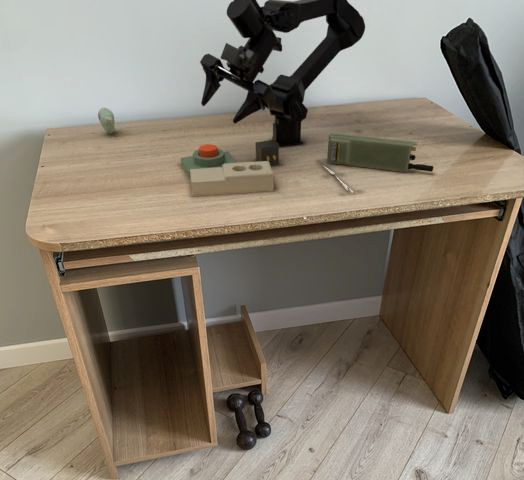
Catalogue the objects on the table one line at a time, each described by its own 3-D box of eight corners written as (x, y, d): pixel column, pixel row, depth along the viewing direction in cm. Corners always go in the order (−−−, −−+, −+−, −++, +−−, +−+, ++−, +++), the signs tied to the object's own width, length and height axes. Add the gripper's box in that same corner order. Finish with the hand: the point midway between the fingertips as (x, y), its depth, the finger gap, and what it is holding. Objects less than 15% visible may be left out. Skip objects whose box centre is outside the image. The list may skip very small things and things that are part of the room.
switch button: (215, 150, 122) (214, 143, 121) (220, 157, 119) (219, 149, 118) (197, 153, 121) (196, 145, 120) (202, 159, 118) (201, 152, 117)
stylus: (327, 156, 124) (360, 188, 111) (327, 161, 125) (359, 192, 111) (312, 159, 124) (343, 191, 110) (311, 163, 124) (342, 195, 111)
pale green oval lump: (117, 137, 138) (112, 111, 133) (102, 139, 137) (96, 113, 133) (116, 128, 144) (111, 102, 139) (101, 129, 143) (96, 104, 139)
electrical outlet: (189, 165, 113) (269, 160, 115) (191, 182, 116) (269, 177, 118) (190, 178, 108) (274, 172, 110) (192, 196, 111) (273, 190, 112)
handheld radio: (329, 158, 126) (432, 171, 119) (325, 164, 123) (431, 177, 117) (331, 131, 121) (438, 142, 115) (327, 136, 119) (437, 148, 112)
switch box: (228, 157, 127) (227, 143, 124) (239, 171, 120) (238, 156, 118) (181, 164, 124) (179, 150, 121) (189, 178, 117) (188, 164, 115)
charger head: (272, 158, 126) (272, 139, 123) (280, 167, 122) (280, 147, 119) (255, 161, 125) (255, 142, 122) (263, 169, 121) (263, 150, 118)
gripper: (210, 12, 109) (172, 75, 110) (281, 47, 105) (240, 112, 106) (227, 46, 120) (191, 103, 121) (291, 79, 115) (253, 138, 116)
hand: (217, 113), depth 116 cm, fingers open, 9 cm apart
